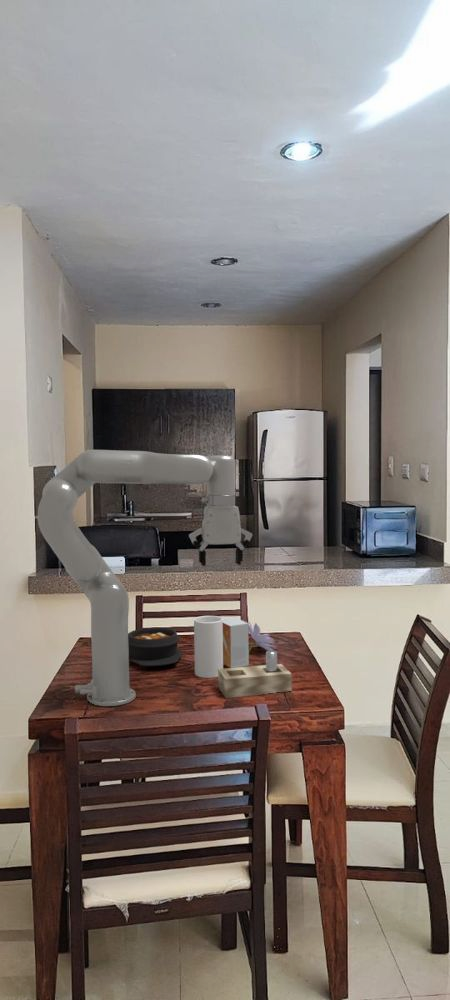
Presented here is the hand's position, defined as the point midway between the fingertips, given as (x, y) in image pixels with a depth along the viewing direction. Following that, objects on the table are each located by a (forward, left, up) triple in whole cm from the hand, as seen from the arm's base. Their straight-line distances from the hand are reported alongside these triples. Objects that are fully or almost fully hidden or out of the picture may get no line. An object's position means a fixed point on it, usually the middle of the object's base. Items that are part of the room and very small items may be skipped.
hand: (220, 564), depth 198 cm
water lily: (+20, +29, -34) cm, 49 cm away
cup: (-1, +12, -34) cm, 36 cm away
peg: (+13, -5, -34) cm, 36 cm away
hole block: (+8, -5, -34) cm, 35 cm away
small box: (+8, +19, -34) cm, 40 cm away
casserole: (-15, +30, -34) cm, 48 cm away
